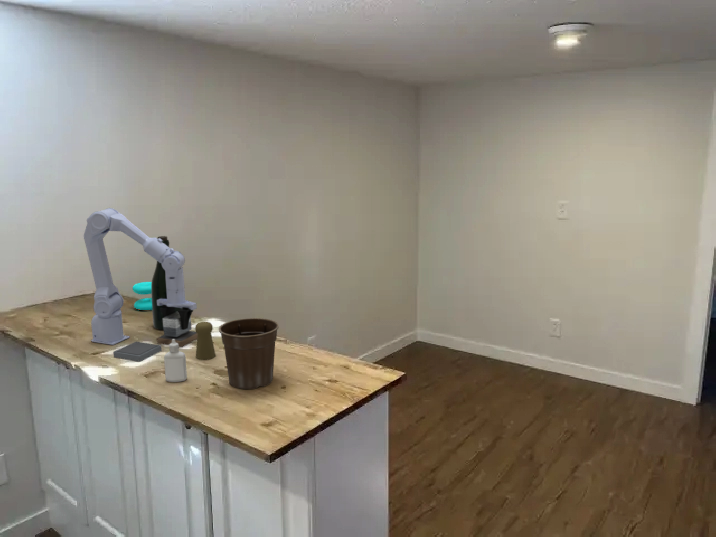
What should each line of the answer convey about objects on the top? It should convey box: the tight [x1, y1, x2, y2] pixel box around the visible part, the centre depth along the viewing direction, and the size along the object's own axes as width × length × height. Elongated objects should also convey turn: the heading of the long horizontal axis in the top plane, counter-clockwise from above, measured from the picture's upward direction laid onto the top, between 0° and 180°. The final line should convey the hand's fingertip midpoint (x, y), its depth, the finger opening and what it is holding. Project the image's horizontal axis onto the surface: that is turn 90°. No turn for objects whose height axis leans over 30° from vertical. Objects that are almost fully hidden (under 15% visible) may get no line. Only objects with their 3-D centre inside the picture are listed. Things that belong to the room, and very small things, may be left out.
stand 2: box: [156, 330, 197, 348], centre depth 191 cm, size 10×10×2 cm
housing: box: [163, 311, 193, 337], centre depth 189 cm, size 5×8×6 cm, turn 159°
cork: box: [194, 321, 216, 361], centre depth 176 cm, size 6×6×11 cm
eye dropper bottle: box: [163, 339, 188, 383], centre depth 158 cm, size 4×6×12 cm
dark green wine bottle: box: [150, 235, 182, 331], centre depth 202 cm, size 10×10×33 cm
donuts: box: [132, 281, 152, 311], centre depth 227 cm, size 10×10×10 cm
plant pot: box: [218, 317, 280, 390], centre depth 157 cm, size 16×16×16 cm
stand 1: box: [113, 341, 163, 363], centre depth 178 cm, size 10×10×2 cm
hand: (178, 327), depth 190 cm, fingers closed on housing, 5 cm apart
